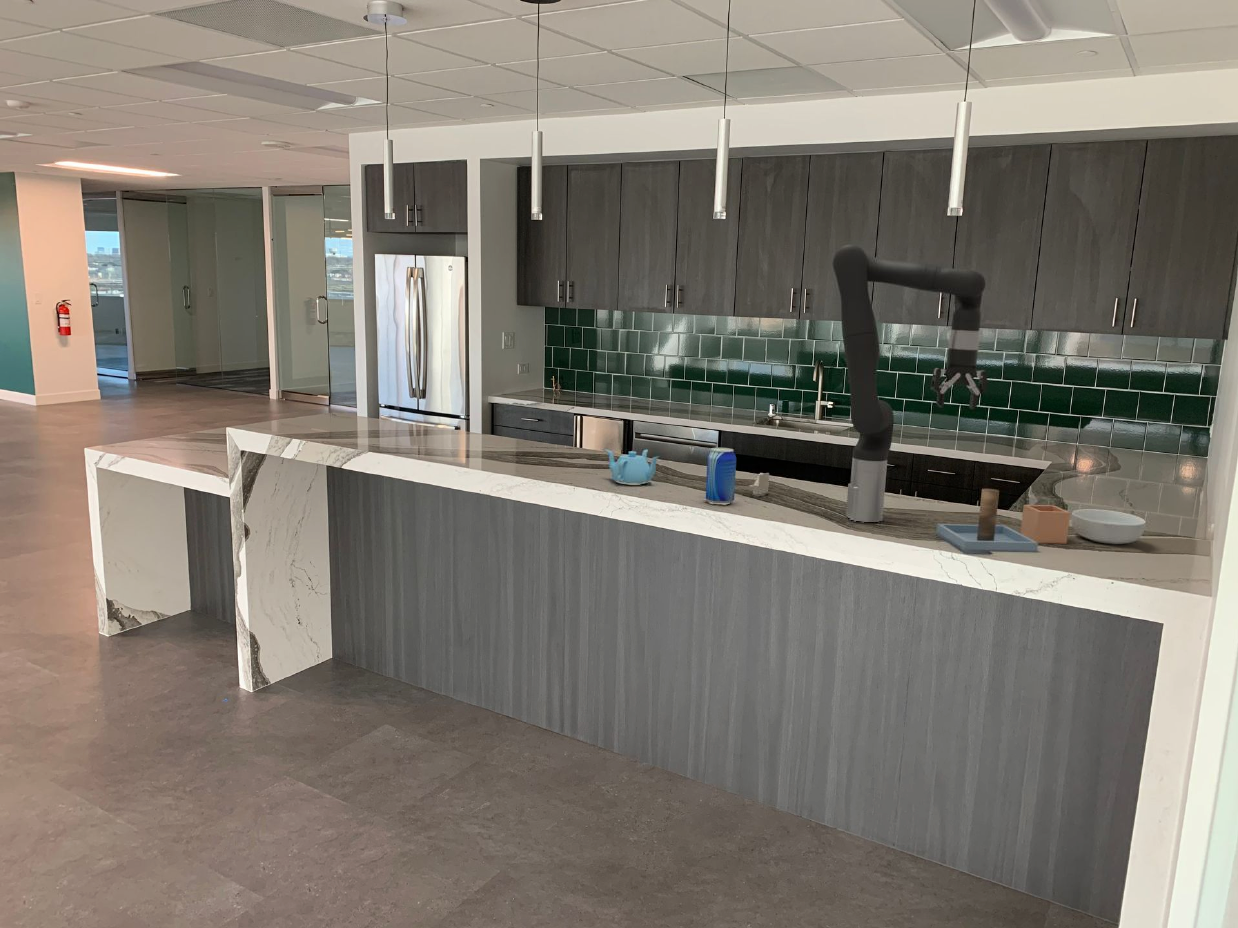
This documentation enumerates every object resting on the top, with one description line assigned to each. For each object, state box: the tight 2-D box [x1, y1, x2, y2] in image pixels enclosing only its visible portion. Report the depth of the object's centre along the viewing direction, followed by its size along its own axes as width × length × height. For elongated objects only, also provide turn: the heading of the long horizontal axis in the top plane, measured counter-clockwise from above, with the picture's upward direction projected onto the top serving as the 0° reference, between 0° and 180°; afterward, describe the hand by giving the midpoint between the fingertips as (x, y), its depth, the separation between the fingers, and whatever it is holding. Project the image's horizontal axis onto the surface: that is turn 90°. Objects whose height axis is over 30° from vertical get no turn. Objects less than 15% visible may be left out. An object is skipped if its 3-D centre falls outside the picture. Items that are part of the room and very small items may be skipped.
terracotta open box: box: [1020, 504, 1071, 545], centre depth 238 cm, size 8×8×9 cm
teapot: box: [605, 448, 661, 483], centre depth 299 cm, size 15×15×10 cm
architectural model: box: [749, 472, 770, 495], centre depth 286 cm, size 3×7×7 cm, turn 140°
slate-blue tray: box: [935, 523, 1039, 555], centre depth 234 cm, size 18×18×3 cm
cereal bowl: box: [1070, 508, 1146, 545], centre depth 240 cm, size 17×17×7 cm
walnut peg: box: [977, 488, 1000, 541], centre depth 232 cm, size 4×4×13 cm
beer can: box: [705, 447, 737, 504], centre depth 272 cm, size 8×8×16 cm
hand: (956, 408), depth 250 cm, fingers open, 8 cm apart
